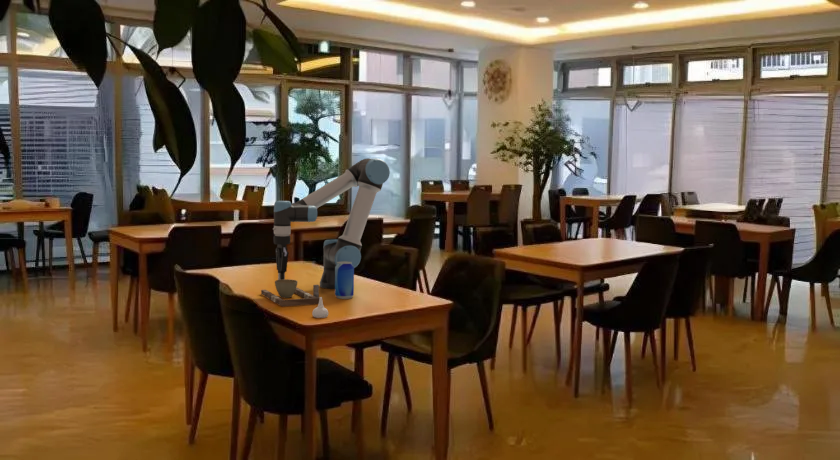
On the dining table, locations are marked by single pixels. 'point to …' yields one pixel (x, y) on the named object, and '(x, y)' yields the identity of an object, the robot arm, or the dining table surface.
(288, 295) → the flower pot
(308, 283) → the dining table surface
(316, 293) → the rail channel
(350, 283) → the beer can
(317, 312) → the garlic bulb
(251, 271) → the dining table surface
